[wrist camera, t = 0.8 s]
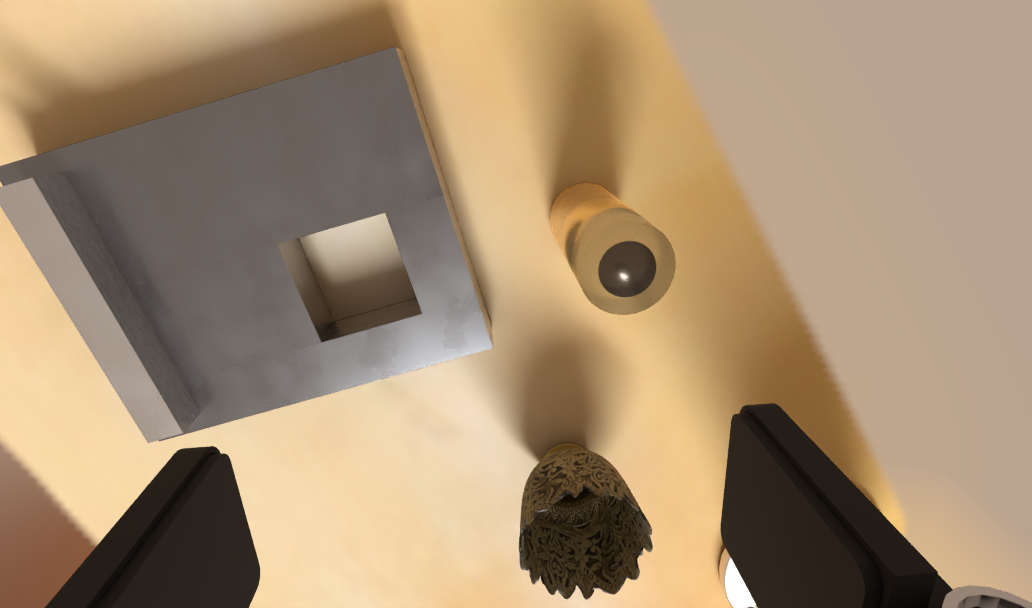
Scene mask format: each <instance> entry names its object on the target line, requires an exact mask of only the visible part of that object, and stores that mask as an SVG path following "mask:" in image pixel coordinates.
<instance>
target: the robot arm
mask: <svg viewBox="0 0 1032 608" xmlns="http://www.w3.org/2000/svg"><path fill="white" fill-rule="evenodd" d="M721 536H722V540H723V543H724V546H725V549H724V551H723V554H722V556H721V561H720V566H719V575H720V582H721V585H722V588H723V591H724V593H725V595H726V597H727V599H728V601H729V603H730V605H731V606H732V607H733V608H1032V603H1031V602H1029V601H1027V600H1024V599H1022V598H1020V597H1018V596H1015V595H1013V594H1011V593H1008V592H1004V591H1001V590H997V589H994V588H990V587H981V586H965V587H959V588H955V589H954V590H953V589H952V588H951V587H950V586H949V585H948V584H947V583H946V582H945V581H944V580H943V579H942V578H941V577H940V576H939V575H938V574H937V573H938V572H937V571H936V570H935V569H934V568H933V567H932V566H931V565H930V564H929V563H928V561H927V560H926V559H925V558H924V557H923V556H922V555H921V554H920V553H919V552H918V551H917V550H916V549H915V548H914V547H913V546H912V545H911V544H910V543H909V542H908V540H907V539H906V538H905V537H904V536H903V535H902V534H901V533H900V532H899V531H898V530H897V529H896V528H895V527H894V526H893V525H892V524H891V523H890V522H889V521H888V520H887V519H886V517H885V516H884V515H883V514H882V513H881V512H880V511H879V510H878V509H877V508H876V507H875V506H874V505H873V504H872V503H871V502H870V501H869V500H868V499H867V498H866V497H865V495H864V494H863V493H862V492H861V491H860V490H859V489H858V488H857V487H856V486H855V485H854V484H853V483H852V482H851V481H850V480H849V479H848V478H847V477H846V476H845V475H844V474H843V472H842V471H841V470H840V469H839V468H838V467H837V466H836V465H835V464H834V463H833V462H832V461H831V460H830V459H829V458H828V457H827V456H826V455H825V454H824V453H823V452H822V450H821V449H820V448H819V447H818V446H817V445H816V444H815V443H814V442H813V441H812V440H811V439H810V438H809V437H808V436H807V435H806V434H805V433H804V432H803V431H802V430H801V429H800V427H799V426H798V425H797V424H796V423H795V422H794V421H793V420H792V419H791V418H790V417H789V416H788V415H787V414H786V413H785V412H784V411H783V410H782V409H781V408H780V407H779V406H778V405H777V404H773V403H771V404H758V405H745V406H743V407H742V409H741V411H740V414H735V415H733V417H732V421H731V430H730V439H729V449H728V459H727V469H726V479H725V488H724V498H723V508H722V518H721ZM259 580H260V566H259V562H258V558H257V554H256V551H255V547H254V544H253V540H252V536H251V533H250V529H249V526H248V522H247V518H246V515H245V511H244V507H243V504H242V500H241V497H240V493H239V489H238V486H237V482H236V479H235V475H234V471H233V468H232V464H231V461H230V458H229V456H228V455H227V454H221V453H220V451H219V450H218V449H217V448H216V447H214V446H211V447H198V448H185V449H180V450H178V451H177V452H176V453H175V454H174V455H173V456H172V457H171V459H170V460H169V461H168V462H167V463H166V465H165V466H164V467H163V468H162V469H161V471H160V472H159V473H158V474H157V475H156V476H155V478H154V479H153V480H152V481H151V482H150V484H149V485H148V486H147V487H146V488H145V490H144V491H143V492H142V493H141V494H140V495H139V497H138V498H137V499H136V500H135V501H134V503H133V504H132V505H131V506H130V507H129V509H128V510H127V511H126V512H125V513H124V514H123V516H122V517H121V518H120V519H119V520H118V522H117V523H116V524H115V525H114V526H113V528H112V529H111V530H110V531H109V532H108V533H107V535H106V536H105V537H104V538H103V539H102V541H101V542H100V543H99V544H98V545H97V547H96V548H95V549H94V550H93V551H92V552H91V554H90V555H89V556H88V557H87V558H86V560H85V561H84V562H83V563H82V564H81V566H80V567H79V568H78V569H77V570H76V571H75V573H74V574H73V575H72V576H71V577H70V579H69V580H68V581H67V582H66V583H65V585H64V586H63V587H62V588H61V589H60V591H59V592H58V593H57V594H56V595H55V597H54V598H53V599H52V600H51V601H50V602H49V604H48V605H47V606H46V607H45V608H249V606H250V604H251V601H252V599H253V597H254V595H255V592H256V590H257V587H258V585H259Z"/></svg>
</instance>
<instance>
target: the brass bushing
mask: <svg viewBox="0 0 1032 608" xmlns="http://www.w3.org/2000/svg"><path fill="white" fill-rule="evenodd" d="M550 227H551V230H552V233H553V235H554V237H555V238H556V240H557V242H558V244H559V246H560V248H561V250H562V252H563V254H564V256H565V258H566V259H567V261H568V263H569V265H570V267H571V269H572V271H573V273H574V275H575V277H576V279H577V280H578V282H579V284H580V286H581V288H582V290H583V292H584V294H585V295H586V297H587V298H588V299H589V300H590V302H591V303H592V304H594V305H595V306H596V307H598V308H599V309H601V310H603V311H605V312H608V313H612V314H618V315H627V314H634V313H638V312H641V311H643V310H645V309H647V308H649V307H651V306H652V305H654V304H655V303H656V302H657V301H659V300H660V299H661V298H662V297H663V295H664V294H665V293H666V291H667V290H668V288H669V287H670V285H671V282H672V280H673V277H674V272H675V255H674V251H673V248H672V246H671V244H670V242H669V241H668V239H667V238H666V237H665V235H664V234H663V233H662V232H660V231H659V230H658V229H657V228H655V227H654V226H653V225H652V224H650V223H649V222H648V221H646V220H645V219H644V218H642V217H641V216H640V215H639V214H637V213H636V212H635V211H633V210H632V209H631V208H629V207H628V206H627V205H626V204H624V203H623V202H622V201H620V200H619V199H618V198H617V197H615V196H614V195H613V194H611V193H610V192H609V191H607V190H606V189H605V188H603V187H601V186H599V185H597V184H593V183H579V184H575V185H572V186H570V187H568V188H567V189H565V190H564V191H563V192H561V193H560V194H559V196H558V197H557V198H556V200H555V201H554V203H553V205H552V208H551V211H550Z"/></svg>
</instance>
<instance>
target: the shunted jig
mask: <svg viewBox="0 0 1032 608" xmlns="http://www.w3.org/2000/svg"><path fill="white" fill-rule="evenodd" d="M0 182H1V183H2V185H3V187H0V206H1V208H2V209H3V211H4V213H5V214H6V216H7V217H8V219H9V221H10V222H11V224H12V225H13V227H14V229H15V230H16V232H17V233H18V235H19V237H20V238H21V240H22V241H23V243H24V245H25V246H26V248H27V249H28V251H29V253H30V254H31V256H32V257H33V259H34V261H35V262H36V264H37V266H38V267H39V269H40V270H41V272H42V274H43V275H44V277H45V278H46V280H47V282H48V283H49V285H50V286H51V288H52V290H53V291H54V293H55V294H56V296H57V298H58V299H59V301H60V302H61V304H62V306H63V307H64V309H65V310H66V312H67V314H68V315H69V317H70V318H71V320H72V322H73V323H74V325H75V327H76V328H77V330H78V331H79V333H80V335H81V336H82V338H83V339H84V341H85V343H86V344H87V346H88V347H89V349H90V351H91V352H92V354H93V355H94V357H95V359H96V360H97V362H98V363H99V365H100V367H101V368H102V370H103V371H104V373H105V375H106V376H107V378H108V379H109V381H110V383H111V384H112V386H113V388H114V389H115V391H116V392H117V394H118V396H119V397H120V399H121V400H122V402H123V404H124V405H125V407H126V408H127V410H128V412H129V413H130V415H131V416H132V418H133V420H134V421H135V423H136V424H137V426H138V428H139V429H140V431H141V432H142V434H143V436H144V437H145V439H146V440H147V442H148V443H150V442H154V441H157V440H159V441H162V440H166V439H169V438H173V437H177V436H180V435H184V434H187V433H191V432H195V431H198V430H202V429H205V428H209V427H212V426H216V425H220V424H223V423H227V422H230V421H234V420H237V419H241V418H245V417H248V416H252V415H255V414H259V413H263V412H266V411H270V410H273V409H277V408H280V407H284V406H288V405H291V404H295V403H298V402H302V401H306V400H309V399H313V398H316V397H320V396H323V395H327V394H331V393H334V392H338V391H341V390H345V389H349V388H352V387H356V386H359V385H363V384H366V383H370V382H374V381H377V380H381V379H384V378H388V377H391V376H395V375H399V374H402V373H406V372H409V371H413V370H417V369H420V368H424V367H427V366H431V365H434V364H438V363H442V362H445V361H449V360H452V359H456V358H460V357H463V356H467V355H470V354H474V353H477V352H481V351H485V350H488V349H492V348H493V338H492V326H491V323H490V320H489V317H488V313H487V310H486V307H485V304H484V301H483V298H482V295H481V292H480V288H479V285H478V282H477V279H476V276H475V273H474V270H473V267H472V263H471V260H470V257H469V254H468V251H467V248H466V245H465V242H464V238H463V235H462V232H461V229H460V226H459V223H458V220H457V217H456V214H455V210H454V207H453V204H452V201H451V198H450V195H449V192H448V189H447V185H446V182H445V179H444V176H443V173H442V170H441V167H440V164H439V160H438V157H437V154H436V151H435V148H434V145H433V142H432V139H431V135H430V132H429V129H428V126H427V123H426V120H425V117H424V114H423V110H422V107H421V104H420V101H419V98H418V95H417V92H416V89H415V85H414V82H413V79H412V76H411V73H410V70H409V67H408V64H407V60H406V57H405V54H404V51H402V50H401V49H399V48H397V47H393V48H389V49H386V50H383V51H380V52H376V53H373V54H370V55H366V56H363V57H360V58H356V59H353V60H350V61H346V62H343V63H340V64H337V65H333V66H330V67H327V68H323V69H320V70H317V71H313V72H310V73H307V74H304V75H300V76H297V77H294V78H290V79H287V80H284V81H280V82H277V83H274V84H270V85H267V86H264V87H261V88H257V89H254V90H251V91H247V92H244V93H241V94H237V95H234V96H231V97H227V98H224V99H221V100H218V101H214V102H211V103H208V104H204V105H201V106H198V107H194V108H191V109H188V110H185V111H181V112H178V113H175V114H171V115H168V116H165V117H161V118H158V119H155V120H151V121H148V122H145V123H142V124H138V125H135V126H132V127H128V128H125V129H122V130H118V131H115V132H112V133H108V134H105V135H102V136H99V137H95V138H92V139H89V140H85V141H82V142H79V143H75V144H72V145H69V146H66V147H62V148H59V149H56V150H52V151H49V152H46V153H42V154H39V155H36V156H32V157H29V158H26V159H23V160H19V161H16V162H13V163H9V164H6V165H3V166H0ZM382 213H386V216H387V219H388V222H389V224H390V227H391V230H392V232H393V235H394V238H395V241H396V243H397V246H398V249H399V251H400V254H401V257H402V260H403V262H404V265H405V268H406V271H407V273H408V276H409V279H410V281H411V284H412V287H413V290H414V292H415V295H416V299H412V300H409V301H405V302H402V303H398V304H395V305H391V306H388V307H384V308H381V309H377V310H374V311H370V312H367V313H363V314H360V315H356V316H353V317H349V318H346V319H342V320H338V321H335V322H334V319H333V317H332V315H331V312H330V310H329V308H328V305H327V303H326V301H325V299H324V296H323V294H322V292H321V289H320V287H319V285H318V282H317V280H316V278H315V275H314V273H313V271H312V269H311V266H310V264H309V262H308V259H307V257H306V255H305V252H304V250H303V248H302V245H301V243H300V241H299V237H303V236H306V235H310V234H313V233H317V232H320V231H323V230H327V229H330V228H334V227H337V226H341V225H344V224H348V223H351V222H354V221H358V220H361V219H365V218H368V217H372V216H375V215H378V214H382Z"/></svg>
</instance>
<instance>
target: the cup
mask: <svg viewBox="0 0 1032 608" xmlns="http://www.w3.org/2000/svg"><path fill="white" fill-rule="evenodd" d="M650 535H652V529H651V526H650V524H649V522H648V520H647V519H646V517H645V515H644V514H643V512H642V511H641V509H640V507H639V505H638V503H637V502H636V500H635V498H634V496H633V494H632V493H631V491H630V489H629V488H628V486H627V484H626V483H625V481H624V479H623V478H622V477H621V475H620V474H619V472H618V471H617V470H616V469H615V468H614V466H613V465H612V464H611V463H610V462H609V461H607V460H606V459H605V458H603V457H602V456H600V455H598V454H596V453H594V452H591V451H588V450H585V449H584V448H583V447H581V446H579V445H576V444H572V443H564V444H559V445H557V446H554V447H553V448H551V449H550V450H549V451H548V452H547V453H546V454H545V456H544V457H543V459H542V461H541V462H540V463H538V464H537V466H536V467H535V468H534V469H533V471H532V472H531V474H530V476H529V477H528V479H527V482H526V485H525V488H524V492H523V498H522V507H521V522H520V537H519V551H520V566H521V569H522V570H525V569H526V570H529V572H530V578H531V581H532V584H535V583H536V582H537V581H539V578H540V576H541V580H542V583H543V584H544V585H545V586H546V588H547V590H548V592H549V593H550V594H551V595H554V594H555V592H556V591H557V590H558V592H559V593H560V594H561V595H562V596H563V597H564V598H565V599H569V598H570V597H571V595H572V594H573V592H574V591H575V589H576V588H575V587H576V585H577V586H578V587H579V588H578V589H580V590H581V592H582V594H583V597H584V598H585V599H589V598H590V597H591V596H592V594H593V592H594V589H595V588H599V589H601V590H602V591H603V592H605V593H608V594H616V593H617V592H618V591H619V590H620V589H621V587H622V586H623V584H624V582H625V580H626V578H629V579H631V580H636V579H637V578H638V576H639V573H640V570H639V568H638V562H637V558H638V557H639V555H643V548H645V549H646V550H647V552H651V551H652V547H653V546H652V541H651V538H650ZM594 587H595V588H594ZM593 588H594V589H593Z"/></svg>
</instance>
